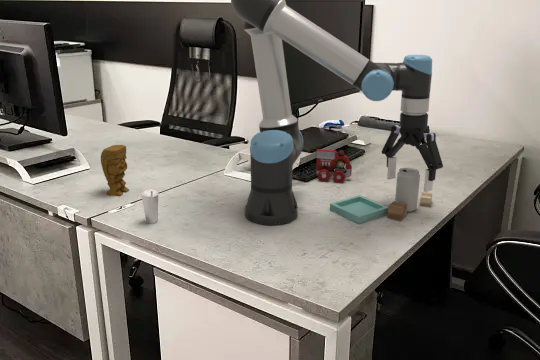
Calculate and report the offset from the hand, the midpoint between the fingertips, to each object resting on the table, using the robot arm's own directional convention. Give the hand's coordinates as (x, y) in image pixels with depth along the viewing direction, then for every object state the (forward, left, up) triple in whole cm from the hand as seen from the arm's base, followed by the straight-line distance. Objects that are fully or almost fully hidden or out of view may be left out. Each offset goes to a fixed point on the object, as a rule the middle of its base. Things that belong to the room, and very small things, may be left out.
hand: (408, 184), depth 152 cm
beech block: (+8, -1, -8) cm, 11 cm away
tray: (-13, +6, -8) cm, 17 cm away
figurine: (-65, +62, -8) cm, 91 cm away
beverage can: (0, 0, -8) cm, 8 cm away
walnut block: (-7, -3, -8) cm, 11 cm away
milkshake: (-65, +34, -8) cm, 74 cm away
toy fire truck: (0, +32, -8) cm, 33 cm away
